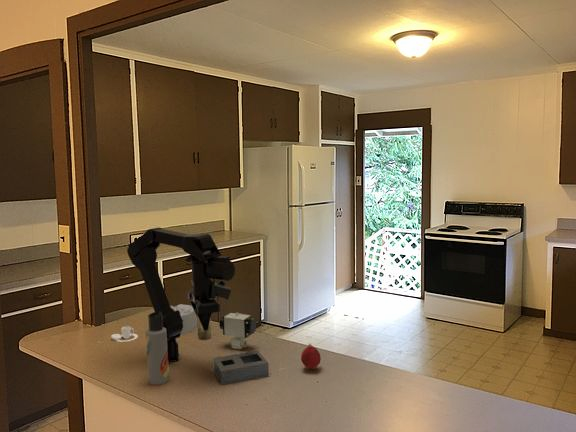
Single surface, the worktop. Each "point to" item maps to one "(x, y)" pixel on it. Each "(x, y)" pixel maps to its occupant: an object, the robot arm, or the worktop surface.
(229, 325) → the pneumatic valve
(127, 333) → the teacup and saucer
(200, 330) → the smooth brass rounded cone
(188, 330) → the lumpy-topped squat cylinder
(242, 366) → the socket block
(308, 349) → the onion
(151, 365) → the lotion bottle
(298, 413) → the worktop surface
